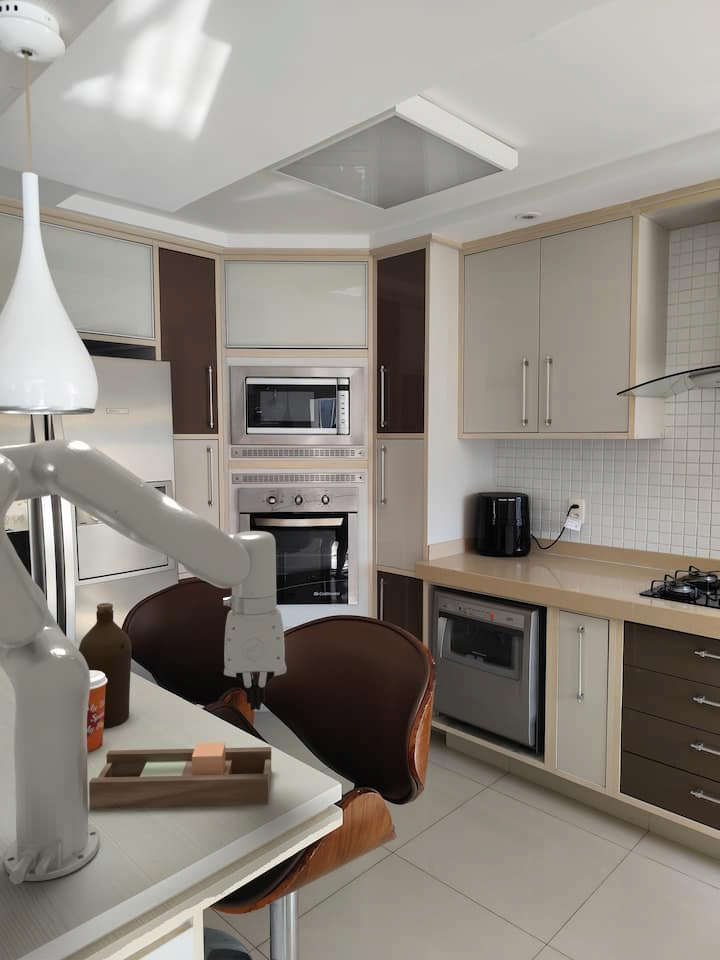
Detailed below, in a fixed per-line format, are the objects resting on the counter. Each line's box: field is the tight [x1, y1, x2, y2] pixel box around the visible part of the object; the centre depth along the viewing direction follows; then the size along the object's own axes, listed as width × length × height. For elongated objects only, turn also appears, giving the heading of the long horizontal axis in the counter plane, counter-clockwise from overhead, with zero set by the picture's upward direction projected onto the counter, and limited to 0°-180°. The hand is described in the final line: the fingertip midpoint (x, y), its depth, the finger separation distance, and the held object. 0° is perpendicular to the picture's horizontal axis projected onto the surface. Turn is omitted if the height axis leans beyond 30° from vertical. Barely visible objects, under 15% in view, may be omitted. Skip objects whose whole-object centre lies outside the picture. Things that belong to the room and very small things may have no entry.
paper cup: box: [87, 670, 107, 753], centre depth 130 cm, size 8×8×14 cm
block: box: [192, 741, 226, 775], centre depth 115 cm, size 5×5×4 cm
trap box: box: [88, 746, 272, 810], centre depth 115 cm, size 11×29×4 cm, turn 95°
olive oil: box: [78, 602, 133, 729], centre depth 141 cm, size 11×11×25 cm
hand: (255, 706), depth 115 cm, fingers closed
